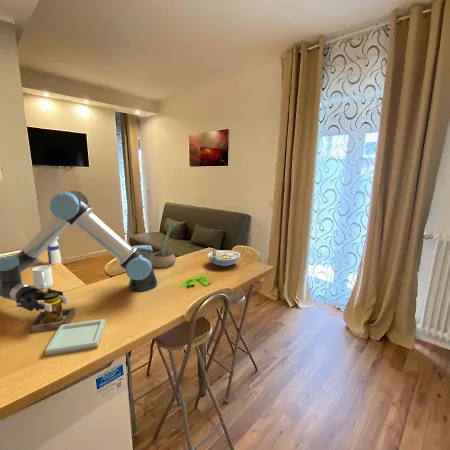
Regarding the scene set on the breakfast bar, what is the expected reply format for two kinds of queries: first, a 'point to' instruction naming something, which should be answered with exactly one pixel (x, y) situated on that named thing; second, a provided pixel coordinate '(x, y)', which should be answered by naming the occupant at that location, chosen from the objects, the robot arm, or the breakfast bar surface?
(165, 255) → the potted plant
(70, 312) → the holder
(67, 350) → the tray
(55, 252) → the water bottle
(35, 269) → the mug
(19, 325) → the breakfast bar surface
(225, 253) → the ramen bowl
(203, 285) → the cloth
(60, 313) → the condiment
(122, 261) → the robot arm
